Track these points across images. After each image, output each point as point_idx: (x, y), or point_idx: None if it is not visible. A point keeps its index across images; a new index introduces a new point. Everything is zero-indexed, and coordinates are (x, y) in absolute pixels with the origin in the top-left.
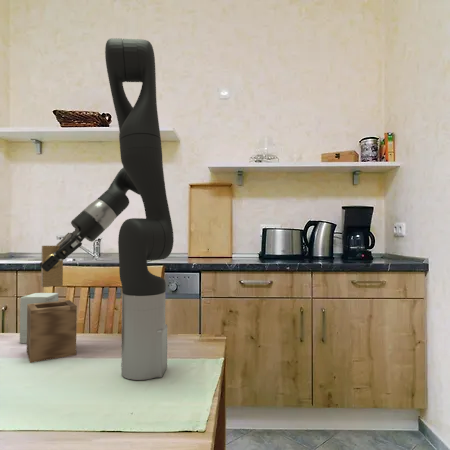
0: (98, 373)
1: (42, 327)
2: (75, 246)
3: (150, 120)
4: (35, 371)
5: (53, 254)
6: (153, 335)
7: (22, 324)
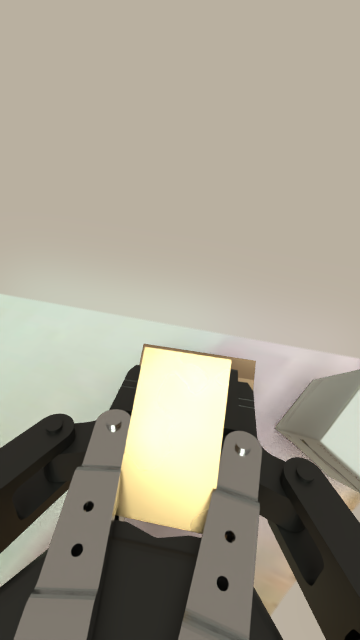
0: None
1: None
2: None
3: None
4: (109, 360)
5: (107, 412)
6: None
7: (328, 380)
